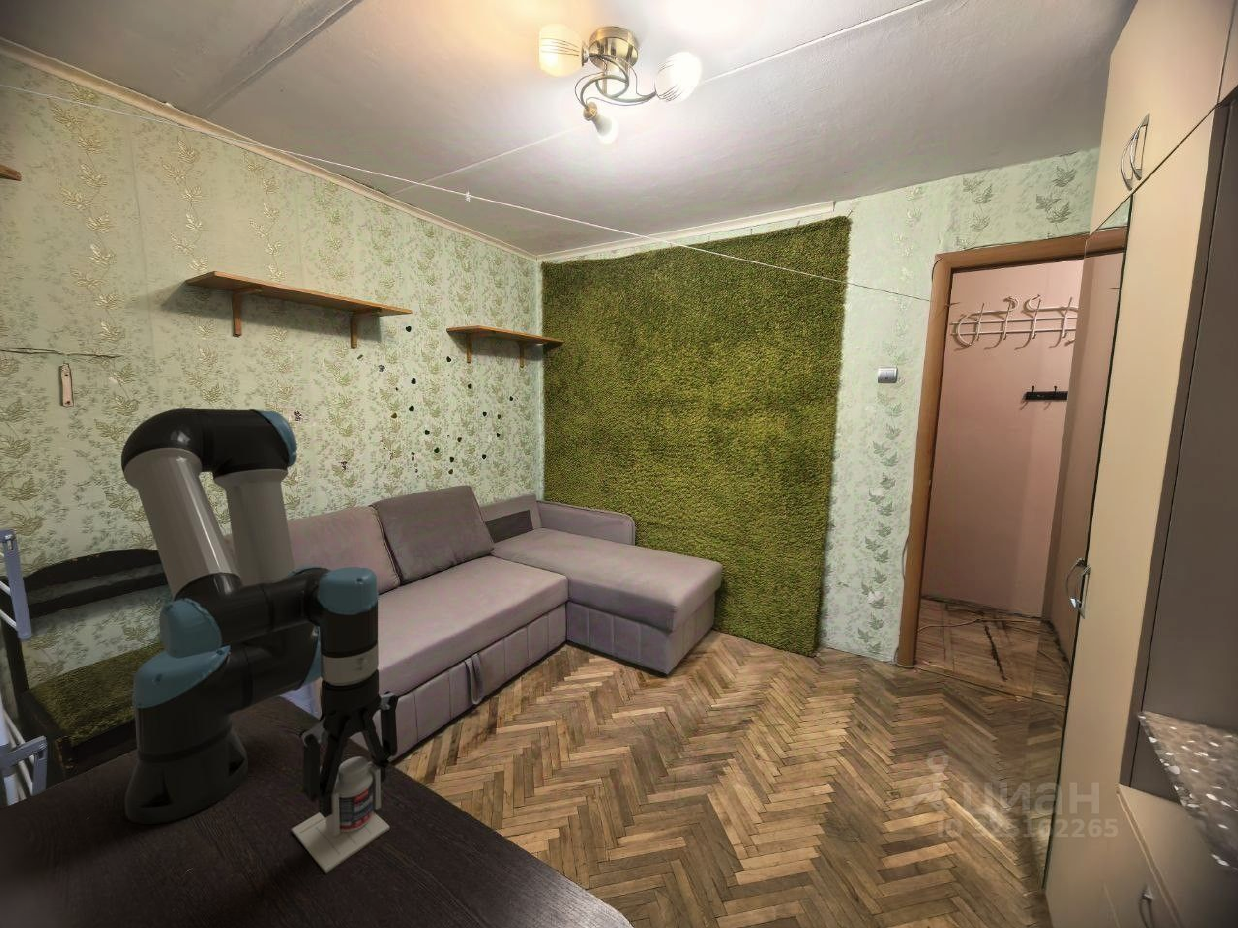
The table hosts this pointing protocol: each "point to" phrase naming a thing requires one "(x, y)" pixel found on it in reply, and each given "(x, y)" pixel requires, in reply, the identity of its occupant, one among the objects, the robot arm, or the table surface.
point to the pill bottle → (354, 794)
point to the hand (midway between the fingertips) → (354, 816)
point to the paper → (336, 839)
